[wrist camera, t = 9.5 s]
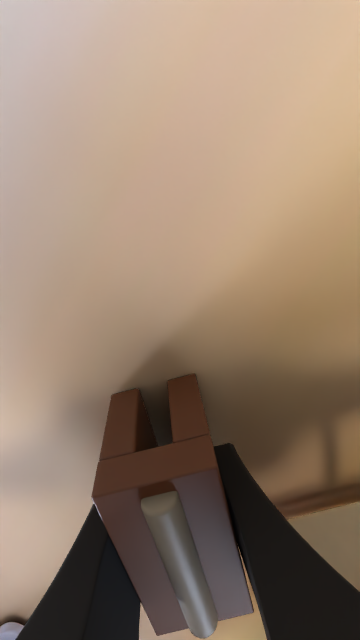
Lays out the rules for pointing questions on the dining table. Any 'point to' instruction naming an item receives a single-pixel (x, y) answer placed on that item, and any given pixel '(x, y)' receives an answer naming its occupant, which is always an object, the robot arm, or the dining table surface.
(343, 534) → the drawer
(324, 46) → the dining table surface
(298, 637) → the robot arm
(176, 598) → the dark brown chunk
